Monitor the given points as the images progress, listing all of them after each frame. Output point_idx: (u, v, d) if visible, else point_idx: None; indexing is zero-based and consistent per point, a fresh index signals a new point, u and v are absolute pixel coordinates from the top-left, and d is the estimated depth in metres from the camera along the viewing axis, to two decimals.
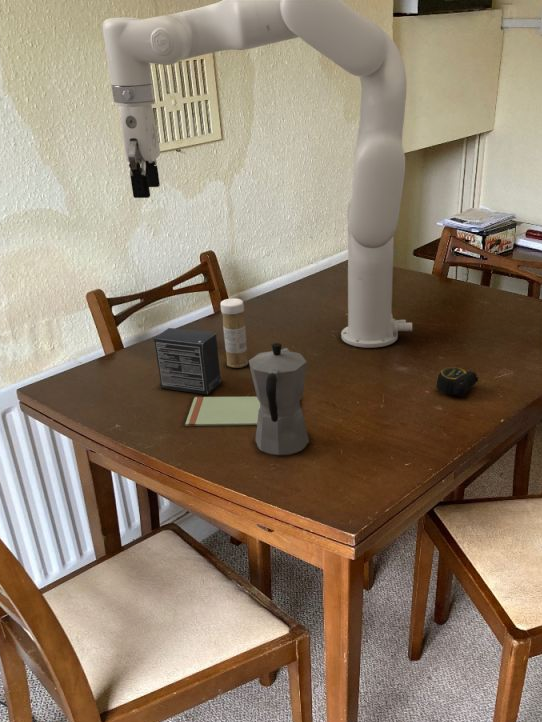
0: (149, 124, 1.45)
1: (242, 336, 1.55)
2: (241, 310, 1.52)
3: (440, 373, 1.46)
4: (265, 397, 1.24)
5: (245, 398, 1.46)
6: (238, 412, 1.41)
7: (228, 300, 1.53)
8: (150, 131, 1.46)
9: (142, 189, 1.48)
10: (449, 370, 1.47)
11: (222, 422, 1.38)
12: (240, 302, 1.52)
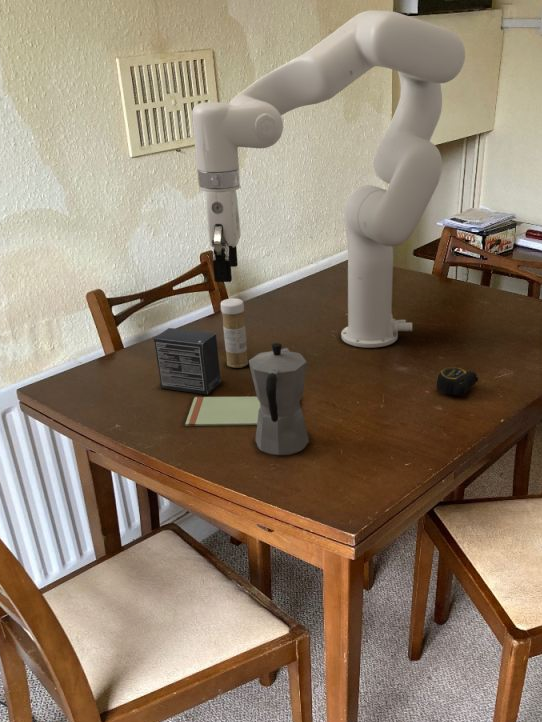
0: (234, 209, 1.41)
1: (242, 336, 1.55)
2: (241, 310, 1.52)
3: (440, 373, 1.46)
4: (265, 397, 1.24)
5: (245, 398, 1.46)
6: (238, 412, 1.41)
7: (228, 300, 1.53)
8: (235, 215, 1.41)
9: (224, 274, 1.43)
10: (449, 370, 1.47)
11: (222, 422, 1.38)
12: (240, 302, 1.52)
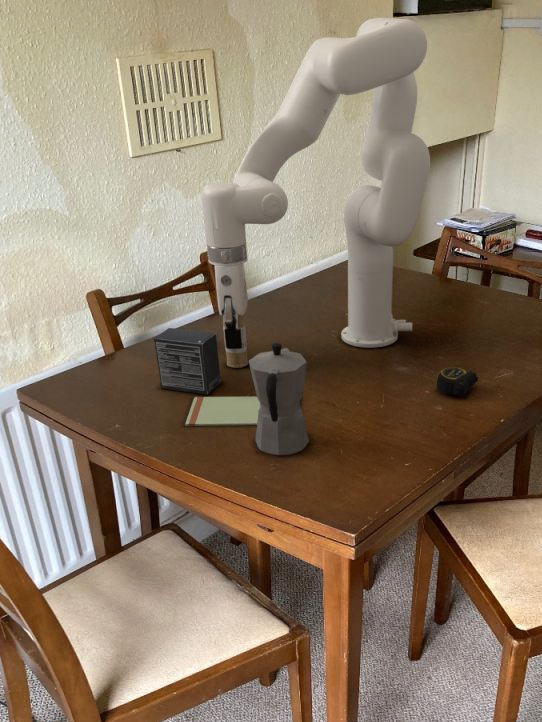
0: (242, 280, 1.48)
1: (242, 336, 1.55)
2: None
3: (440, 373, 1.46)
4: (265, 397, 1.24)
5: (245, 398, 1.46)
6: (238, 412, 1.41)
7: None
8: (243, 286, 1.48)
9: (235, 342, 1.53)
10: (449, 370, 1.47)
11: (222, 422, 1.38)
12: None
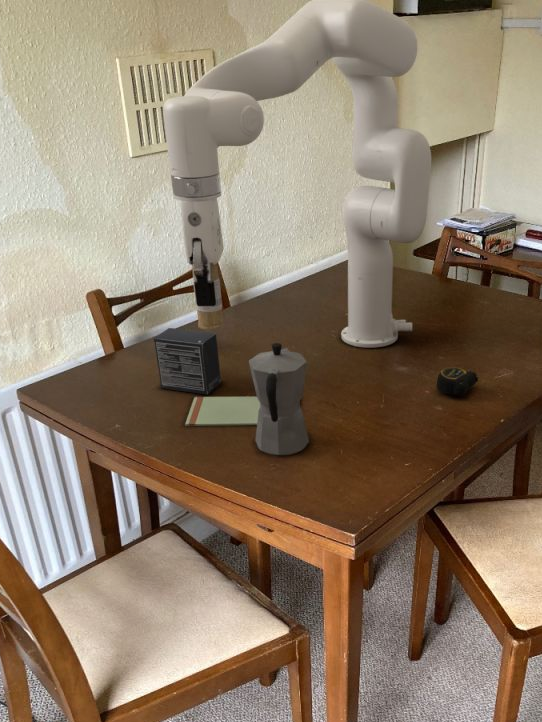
0: (215, 220, 1.21)
1: (216, 291, 1.29)
2: None
3: (440, 373, 1.46)
4: (265, 397, 1.24)
5: (245, 398, 1.46)
6: (238, 412, 1.41)
7: None
8: (216, 228, 1.22)
9: (207, 297, 1.27)
10: (449, 370, 1.47)
11: (222, 422, 1.38)
12: None
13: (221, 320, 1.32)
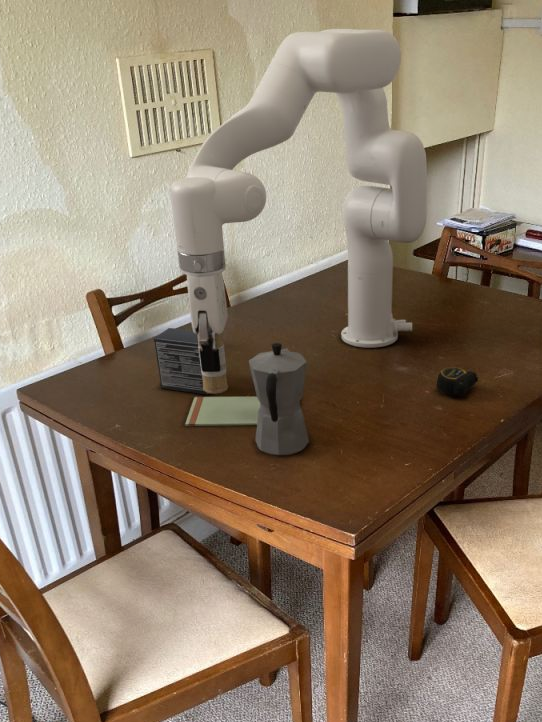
0: (220, 292, 1.26)
1: (221, 357, 1.33)
2: None
3: (440, 373, 1.46)
4: (265, 397, 1.24)
5: (245, 398, 1.46)
6: (238, 412, 1.41)
7: None
8: (220, 299, 1.27)
9: (212, 364, 1.31)
10: (449, 370, 1.47)
11: (222, 422, 1.38)
12: None
13: (225, 383, 1.37)
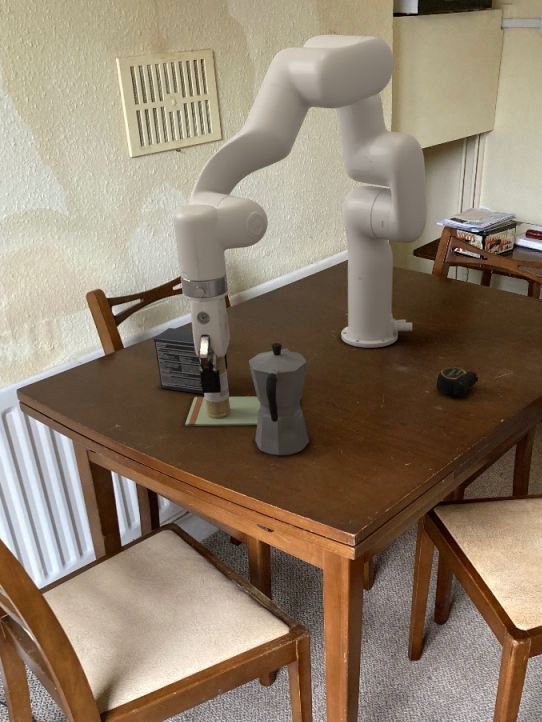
0: (222, 316, 1.28)
1: (224, 383, 1.36)
2: None
3: (440, 373, 1.46)
4: (265, 397, 1.24)
5: (245, 398, 1.46)
6: (238, 412, 1.41)
7: None
8: (223, 323, 1.29)
9: (213, 385, 1.31)
10: (449, 370, 1.47)
11: (222, 422, 1.38)
12: None
13: (228, 408, 1.39)
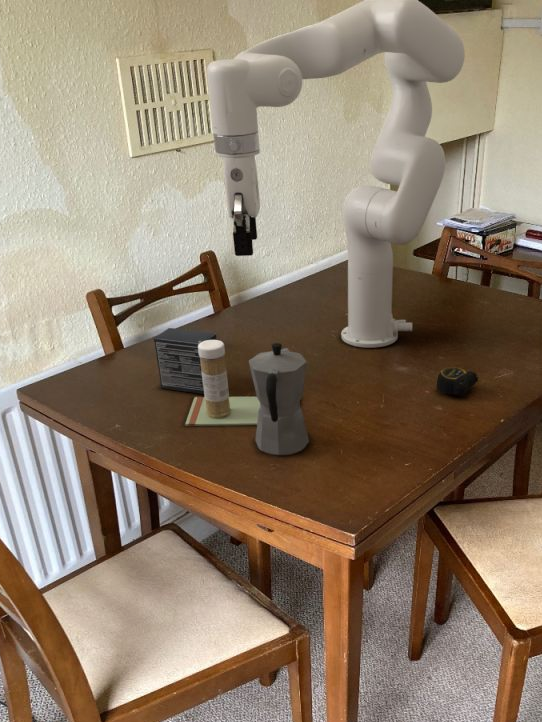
0: (254, 176, 1.31)
1: (224, 383, 1.36)
2: (221, 354, 1.33)
3: (440, 373, 1.46)
4: (265, 397, 1.24)
5: (245, 398, 1.46)
6: (238, 412, 1.41)
7: (207, 342, 1.34)
8: (255, 183, 1.31)
9: (246, 247, 1.34)
10: (449, 370, 1.47)
11: (222, 422, 1.38)
12: (220, 344, 1.33)
13: (228, 408, 1.39)
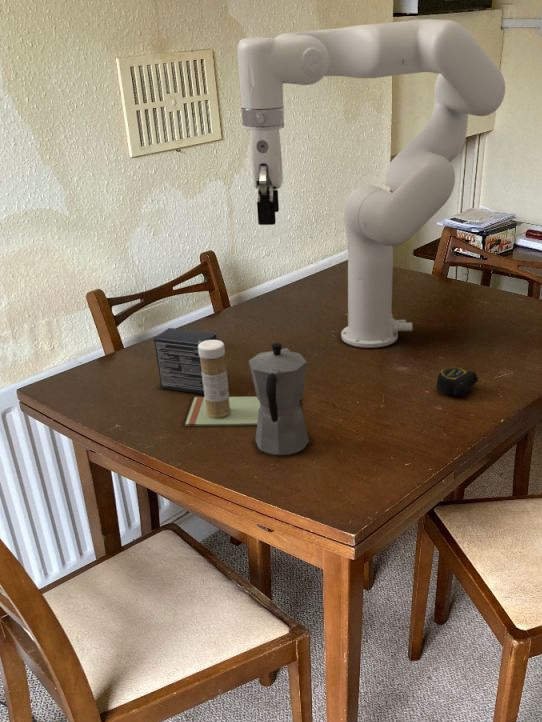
0: (279, 148, 1.38)
1: (224, 383, 1.36)
2: (221, 354, 1.33)
3: (440, 373, 1.46)
4: (265, 397, 1.24)
5: (245, 398, 1.46)
6: (238, 412, 1.41)
7: (207, 342, 1.34)
8: (279, 155, 1.39)
9: (269, 216, 1.41)
10: (449, 370, 1.47)
11: (222, 422, 1.38)
12: (220, 344, 1.33)
13: (228, 408, 1.39)
